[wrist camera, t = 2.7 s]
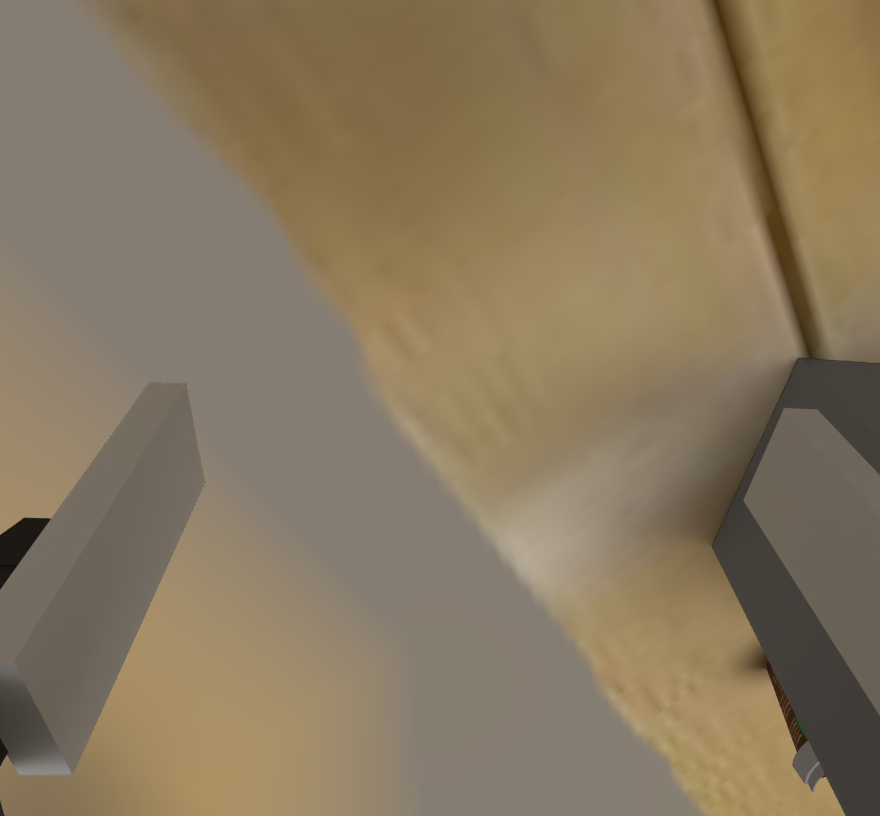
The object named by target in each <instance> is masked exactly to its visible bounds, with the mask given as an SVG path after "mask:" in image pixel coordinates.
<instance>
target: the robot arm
mask: <svg viewBox="0 0 880 816" xmlns="http://www.w3.org/2000/svg"><path fill="white" fill-rule="evenodd" d="M204 484H205V480H204V474H203V469H202V464H201V458H200V454H199V448H198V443H197V438H196V432H195V427H194V422H193V417H192V412H191V407H190V401H189V396H188V391H187V385H186V384H185V383H162V382H149V383H148V385H147V386H146V387H145V389H144V390H143V392H142V393H141V394H140V396H139V397H138V398H137V400H136V401H135V403H134V404H133V405H132V407H131V408H130V410H129V411H128V413H127V414H126V415H125V417H124V418H123V420H122V421H121V422H120V424H119V425H118V426H117V428H116V429H115V431H114V432H113V433H112V435H111V436H110V438H109V439H108V440H107V442H106V443H105V444H104V446H103V447H102V449H101V450H100V452H99V453H98V454H97V456H96V457H95V458H94V460H93V461H92V463H91V464H90V466H89V467H88V468H87V470H86V471H85V472H84V474H83V475H82V477H81V478H80V480H79V481H78V482H77V484H76V485H75V486H74V488H73V489H72V490H71V492H70V493H69V495H68V496H67V497H66V499H65V501H64V502H63V503H62V504H61V506H60V507H59V509H58V510H57V511H56V513H55V514H54V516H53V517H52V518H51V519H48V518H23V519H22V520H21V521H19V522H18V523H16V524H15V525H14V526H12V527H11V528H9V529H8V530H7V531H5V532H4V533H2V534H1V535H0V766H1V764H2V762H3V760H4V758H5V757H6V755H7V756H8V757H9V759H10V761H11V762H12V764H13V765H14V767H15V769H16V770H17V772H18V773H19V775H73V773H74V771H75V769H76V766H77V764H78V762H79V760H80V758H81V756H82V753H83V751H84V749H85V747H86V745H87V742H88V740H89V738H90V736H91V734H92V731H93V729H94V727H95V725H96V723H97V720H98V718H99V716H100V714H101V712H102V709H103V707H104V705H105V703H106V700H107V698H108V696H109V694H110V692H111V689H112V687H113V685H114V683H115V681H116V678H117V676H118V674H119V672H120V670H121V667H122V665H123V663H124V661H125V659H126V656H127V654H128V652H129V650H130V647H131V645H132V643H133V641H134V639H135V636H136V634H137V632H138V630H139V628H140V625H141V623H142V621H143V619H144V617H145V614H146V612H147V610H148V608H149V606H150V603H151V601H152V599H153V596H154V594H155V592H156V590H157V588H158V585H159V584H160V581H161V579H162V577H163V575H164V572H165V570H166V568H167V566H168V563H169V561H170V559H171V557H172V555H173V552H174V550H175V548H176V546H177V544H178V542H179V539H180V537H181V535H182V533H183V531H184V528H185V526H186V524H187V522H188V519H189V517H190V515H191V513H192V511H193V509H194V506H195V504H196V502H197V500H198V497H199V495H200V493H201V491H202V489H203V486H204ZM743 501H744V502H745V504H746V506H747V507H748V509H749V510H750V512H751V513H752V515H753V517H754V518H755V520H756V521H757V523H758V525H759V526H760V528H761V529H762V531H763V532H764V534H765V536H766V537H767V539H768V540H769V542H770V543H771V545H772V547H773V548H774V550H775V551H776V553H777V555H778V556H779V558H780V559H781V561H782V562H783V564H784V566H785V567H786V569H787V570H788V572H789V573H790V575H791V577H792V578H793V580H794V581H795V583H796V584H797V586H798V588H799V589H800V591H801V592H802V594H803V596H804V597H805V599H806V600H807V602H808V603H809V605H810V607H811V608H812V610H813V611H814V613H815V614H816V616H817V618H818V619H819V621H820V622H821V624H822V626H823V627H824V629H825V630H826V632H827V633H828V635H829V637H830V638H831V640H832V641H833V643H834V644H835V646H836V648H837V649H838V651H839V652H840V654H841V656H842V657H843V659H844V660H845V662H846V663H847V665H848V667H849V668H850V670H851V671H852V673H853V674H854V676H855V678H856V679H857V681H858V682H859V684H860V685H861V687H862V689H863V690H864V692H865V693H866V695H867V697H868V698H869V700H870V701H871V703H872V704H873V706H874V708H875V709H876V711H877V712H878V714H879V715H880V475H879V474H878V473H877V472H876V471H875V469H874V468H873V467H872V466H871V465H870V464H869V463H868V462H867V461H866V460H865V459H864V458H863V457H862V456H861V455H860V454H859V453H858V452H857V451H856V450H855V449H854V447H853V446H852V445H851V444H850V443H849V442H848V441H847V440H846V439H845V438H844V437H843V436H842V435H841V434H840V433H839V432H838V431H837V430H836V429H835V428H834V426H833V425H832V424H831V423H830V422H829V421H828V420H827V419H826V418H825V417H824V416H823V415H822V414H821V413H820V412H819V411H818V410H817V409H795V408H784V409H783V412H782V414H781V416H780V418H779V421H778V423H777V425H776V428H775V430H774V432H773V434H772V437H771V439H770V441H769V444H768V446H767V448H766V450H765V453H764V455H763V457H762V459H761V462H760V464H759V466H758V469H757V471H756V473H755V475H754V478H753V480H752V482H751V484H750V487H749V489H748V491H747V494H746V496H745V498H744V500H743ZM0 816H4V813H3V809H2V806H1V802H0Z"/></svg>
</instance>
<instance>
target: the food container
mask: <svg viewBox="0 0 880 816" xmlns="http://www.w3.org/2000/svg"><path fill="white" fill-rule="evenodd" d="M767 671H768V673H769V676H770V679H771V682H772V685H773V687H774V690H775V693H776V696H777V698H778V701H779V704H780V707H781V709H782V712H783V715H784V718H785V721H786V723H787V726H788V729H789V732H790V734H791V737H792V740H793V743H794V745H795V748H796V751H797V753H796V755H795V757H794V759H793V764H792V766H793V767H794V769H795V770H796V772H797V773H798V775H799V776H800V777H801V779H802V780H803V782H804V783H805V784H807V783H808V784H809V786H810V788H811V790H812V792H814V789H815V786H816V784H817V782H818V781H819V780H820V778H823V777H826V775H825V773H824V771H823V769H822V767H821V765H820V763H819V761H818V759H817V757H816V755H815V753H814V751H813V749H812V747H811V745H810V743H809V741H808V739H807V737H806V735H805V733H804V731H803V729H802V727H801V725H800V723H799V721H798V719H797V717H796V715H795V713H794V711H793V709H792V707H791V705H790V703H789V701H788V699H787V697H786V695H785V693H784V691H783V689H782V687H781V685H780V683H779V681H778V679H777V677H776V675H775V673H774V671H773V669H772V667H771V665H770V663H769V661H768V663H767Z"/></svg>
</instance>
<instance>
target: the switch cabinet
mask: <svg viewBox="0 0 880 816" xmlns="http://www.w3.org/2000/svg"><path fill="white" fill-rule="evenodd" d="M784 408H795V409H817V410H818V411H819V412H820V413H821V414H822V415H823V416H824V417H825V418H826V419H827V420H828V421H829V422H830V423H831V424H832V425H833V426H834V428H835V429H836V430H837V431H838V432H839V433H840V434H841V435H842V436H843V437H844V438H845V439H846V440H847V441H848V442H849V443H850V444H851V445H852V446H853V447H854V449H855V450H856V451H857V452H858V453H859V454H860V455H861V456H862V457H863V458H864V459H865V460H866V461H867V462H868V463H869V464H870V465H871V466H872V467H873V468H874V469H875V471H876V472H877V473H878V474H879V475H880V364H876V363H861V362H847V361H833V360H818V359H804V358H798V360H797V363H796V365H795V367H794V369H793V371H792V373H791V376H790V378H789V380H788V382H787V384H786V386H785V389H784V391H783V393H782V395H781V397H780V399H779V402H778V404H777V406H776V408H775V410H774V413H773V415H772V417H771V419H770V421H769V423H768V426H767V428H766V430H765V432H764V434H763V436H762V439H761V441H760V443H759V445H758V447H757V449H756V452H755V454H754V456H753V458H752V460H751V463H750V465H749V467H748V469H747V471H746V473H745V476H744V478H743V480H742V482H741V484H740V486H739V489H738V491H737V493H736V495H735V497H734V499H733V502H732V504H731V506H730V508H729V510H728V513H727V515H726V517H725V519H724V521H723V523H722V526H721V528H720V530H719V532H718V534H717V536H716V539H715V541H714V543H713V545H712V548H713V550H714V552H715V554H716V556H717V558H718V560H719V562H720V564H721V566H722V568H723V570H724V572H725V574H726V576H727V578H728V580H729V582H730V584H731V586H732V588H733V590H734V592H735V594H736V596H737V598H738V600H739V602H740V604H741V606H742V608H743V610H744V612H745V614H746V616H747V618H748V620H749V622H750V624H751V626H752V628H753V630H754V632H755V634H756V636H757V638H758V641H759V643H760V645H761V647H762V649H763V651H764V653H765V655H766V657H767V659H768V661H769V663H770V665H771V667H772V669H773V671H774V673H775V675H776V677H777V679H778V681H779V683H780V685H781V687H782V689H783V691H784V693H785V695H786V697H787V699H788V701H789V703H790V705H791V707H792V709H793V711H794V713H795V715H796V717H797V719H798V721H799V723H800V725H801V727H802V729H803V731H804V733H805V735H806V737H807V739H808V741H809V743H810V745H811V747H812V749H813V751H814V753H815V755H816V757H817V759H818V761H819V763H820V765H821V767H822V769H823V771H824V773H825V775H826V777H827V779H828V781H829V783H830V785H831V787H832V789H833V791H834V793H835V795H836V797H837V799H838V801H839V803H840V805H841V807H842V809H843V811H844V813H845V815H846V816H880V715H879V714H878V712H877V711H876V709H875V708H874V706H873V704H872V703H871V701H870V700H869V698H868V697H867V695H866V693H865V692H864V690H863V689H862V687H861V685H860V684H859V682H858V681H857V679H856V678H855V676H854V674H853V673H852V671H851V670H850V668H849V667H848V665H847V663H846V662H845V660H844V659H843V657H842V656H841V654H840V652H839V651H838V649H837V648H836V646H835V644H834V643H833V641H832V640H831V638H830V637H829V635H828V633H827V632H826V630H825V629H824V627H823V626H822V624H821V622H820V621H819V619H818V618H817V616H816V614H815V613H814V611H813V610H812V608H811V607H810V605H809V603H808V602H807V600H806V599H805V597H804V596H803V594H802V592H801V591H800V589H799V588H798V586H797V584H796V583H795V581H794V580H793V578H792V577H791V575H790V573H789V572H788V570H787V569H786V567H785V566H784V564H783V562H782V561H781V559H780V558H779V556H778V555H777V553H776V551H775V550H774V548H773V547H772V545H771V543H770V542H769V540H768V539H767V537H766V536H765V534H764V532H763V531H762V529H761V528H760V526H759V525H758V523H757V521H756V520H755V518H754V517H753V515H752V513H751V512H750V510H749V509H748V507H747V506H746V504H745V502H744V501H743V500H744V498H745V496H746V494H747V491H748V489H749V487H750V484H751V482H752V480H753V478H754V475H755V473H756V471H757V469H758V466H759V464H760V462H761V459H762V457H763V455H764V453H765V450H766V448H767V446H768V444H769V441H770V439H771V437H772V434H773V432H774V430H775V428H776V425H777V423H778V421H779V418H780V416H781V414H782V412H783V409H784Z"/></svg>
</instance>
